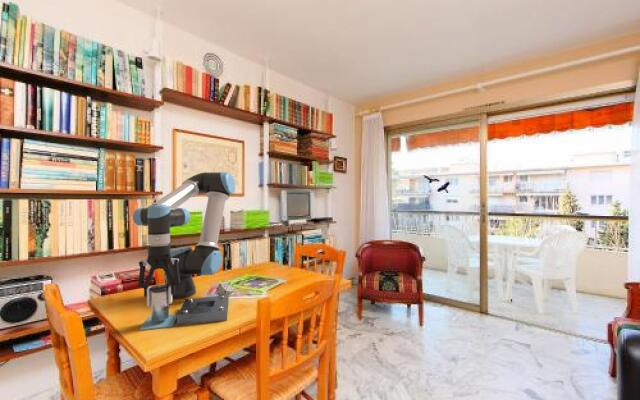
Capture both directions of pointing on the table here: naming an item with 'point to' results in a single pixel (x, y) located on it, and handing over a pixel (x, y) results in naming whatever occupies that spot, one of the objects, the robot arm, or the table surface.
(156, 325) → the mat
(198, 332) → the table surface
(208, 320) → the housing
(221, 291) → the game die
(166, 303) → the silver cylinder
